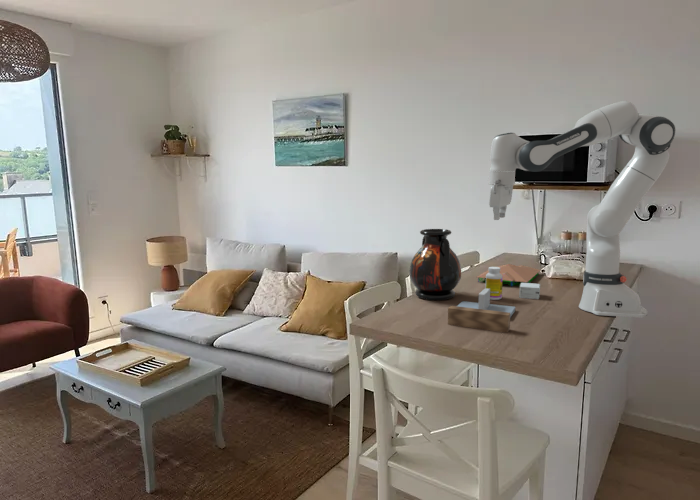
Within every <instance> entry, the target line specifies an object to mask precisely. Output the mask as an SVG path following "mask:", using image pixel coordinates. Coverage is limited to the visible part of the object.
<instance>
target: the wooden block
mask: <svg viewBox="0 0 700 500" xmlns="http://www.w3.org/2000/svg"><path fill="white" fill-rule="evenodd" d="M447 325H448V326H449V325H450V326H456V327H465V328H472V329H478V330H486V331H487V330H488V331H493V332H501V333H507V334H508V333H509V331H510V330H511V318H510V313H509V312H500V311H492V310H483V309H475V308H466V307H458V305H450V306H449V307H448V308H447Z"/></svg>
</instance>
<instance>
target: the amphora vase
mask: <svg viewBox="0 0 700 500" xmlns="http://www.w3.org/2000/svg"><path fill="white" fill-rule="evenodd" d="M419 233H420V235H422V236H423V237H422V242H421V247H420V248H419V249H418V250H417V251H416V252H415V254H414V255H413V258H412V259H411V262H410V265H409V278H410V282H412V284H413V286H414V287H415V288H416V290H415V295H416V297H418V298H420V299H424V300H429V301H443V300H445V301H446V300H449V299H452V298H453V297H455V294H456V292H455V291H454V289H455V288H456V287H457V286H458V284H459V283H460V281H461V280H462V267H461V262H460V260H459V257H458V255H457V254H456V253H455V252H454V250H453V249H452V248H451V247H450V245H451V244H450V242H449V240H448V239H447V237H448V236H450V235H451V234H452V231H451V230H450V229H445V228H428V229H427V228H426V229H422V230H420V231H419Z"/></svg>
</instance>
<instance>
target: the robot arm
mask: <svg viewBox="0 0 700 500" xmlns="http://www.w3.org/2000/svg"><path fill="white" fill-rule="evenodd" d="M675 135H676V125H675V124H674V123H673V121H671V119H669V118H667V117H665V116H659V115H655V114H650V113H649V114H648V113H647V114H646V113H639V112H638V110H637V107H636V106H635V105H634V104H633V102H631V101H628V100H621V101H616V102H614V103H611V104H607V105H604V106H601V107H599V108H597V109H594V110H592V111H590V112H588V113H587V114H584V116H582V117H580V118H579V119H578V120H576V122H575V124H574V127H573V128H571V129H570V130H567V131H566V132H564V133H561V134H559V135H557V136H554V137H553V138H550V139H547V140H532V141H529V140H526V139H524V138H522V137H520V136H519V135H518V134H516V133H515V132H506V133H502V134H497V135H495V136H494V138H493V139H492V141H491V145H490V146H491V147H490V151H489V161H490V168H489V172H488V185H491V187H490V192H489V202H488V205H489V208H492V211H493V220H494V221H499V220H500V219H502V218H505V217H506V212H507V208H508V207H507V206H508V205H511V202H512V197H513V191H514V185H515V184H516V178H515V177H516V170H517V169H519V170H523V171H526V172H527V171H528V172H531V173H532V172H535V173H537V172H541V171H543V170H545V169H547V168H548V167H549V166H550V164H552V163H553V161H555V160H556V159H557V158H559V157H561V156H563V155H565V154H567V153H569V152H572V151H574V150H576V149H578V148H581V147H589V146H594V145H598V144H600V143H604V142H606V141H609V140H610V139H613V138H615V137H617V136H618V137H619V139H620V140H621V141H623V142H624V143H625V144H627V145H632V146H633V147H635V149H634V153H633V155H632V157H631V158H630V160H629V161H628V162H627V164H626V165H624V167H623V169H621V171H620V173H619V174H618V176H617V177H616V178H615V179H614V181H613V182H612V183H611V184H610V187H609V188H608V190H607V192H606V193H605V195H604V197H603V198H602V200H601V201H600V203H599V204H596V205H594V206H593V207H591V209H590V210H589V211H588V212H587V215H586V236H585V237H586V255H585V268H584V271H583V276H582V280H583V281H582V285H583V289H582V290H583V291H582V295H581V298H580V301H579V304H578V308H579V309H581V310H582V311H585V312H589V313H592V314H593V315H596V316H606V317H607V316H609V317H624V318H625V317H627V318H646V317H647V316H648V309H646V308H645V307H644V306H642V303H641V297H640V296H639V294H638V293H637V292H636V291H634V290H633V289H632V288H631V287H629V286H628V285H626V284H625V282H627V277H626V275H624V274H623V273H621V272H620V261H621V260H620V257H621V248H620V247H621V246H620V233H621V232H622V231H623V230H624V228H625V227H626V225H627V223H628V222H629V220H630V219H631V218H632V215H634V213H635V211H636V209H637V207H638V206H639V204H640V203H641V201H642V200H643V199H644V197H645V196H646V194H648V192H649V191H650V189H651V188H652V187H653V186H654V184H655V183H656V182H657V180H658V179H659V178H660V176H661V174H662V173H663V172H664V170H665V168H666V166H667V165H668V162H669V160H670V156H671V155H670V152H669V148H670V147H671V145H672V143H673V140H674V139H675Z"/></svg>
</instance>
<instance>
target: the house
mask: <svg viewBox="0 0 700 500" xmlns="http://www.w3.org/2000/svg"><path fill="white" fill-rule="evenodd" d="M496 267H499V268H500V274H501V275H502V282H505V283H509V284H510V287H513V286H514V287H515V286H516V284H518V286H520V285H521V283H531V282H533V280H534V279H536V277H537V276H539V273H540V272H541V269H538V268H534V267H531V266H527V265H522V264H521V265H515V264H511V263H508V264H503V265H498V266H496ZM488 273H489V270H488V269H487V270H486V271H484V272H482V273H480V274H479V275H478V276H476V278H478V279H477V280H478V281H477V282H478V283H480V282H481V283H482V281H483V280H484V279H485V278H486V274H488ZM483 278H484V279H483ZM484 283H485V284H486V280H484Z"/></svg>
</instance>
